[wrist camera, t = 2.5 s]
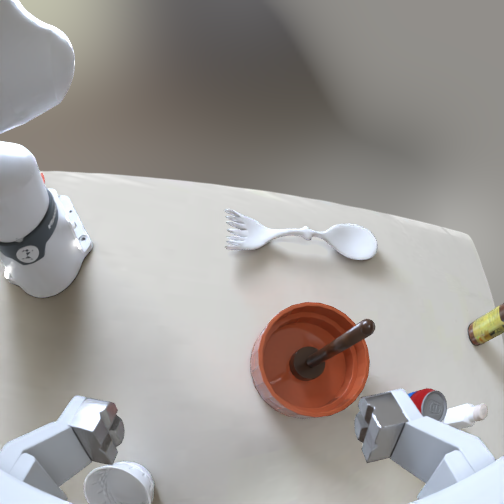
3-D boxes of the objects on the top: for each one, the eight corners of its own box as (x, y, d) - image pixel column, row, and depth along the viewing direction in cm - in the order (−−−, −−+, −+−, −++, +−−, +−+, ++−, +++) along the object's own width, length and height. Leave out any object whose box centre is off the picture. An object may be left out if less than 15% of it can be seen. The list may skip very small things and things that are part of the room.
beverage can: (377, 395, 43) (423, 381, 33) (405, 403, 42) (452, 389, 33) (368, 432, 39) (415, 427, 29) (398, 437, 39) (446, 431, 29)
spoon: (222, 217, 57) (224, 206, 54) (365, 230, 63) (373, 221, 60) (222, 257, 52) (225, 246, 49) (376, 265, 58) (385, 256, 55)
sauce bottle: (470, 348, 51) (534, 312, 35) (464, 324, 55) (525, 284, 38) (483, 344, 53) (543, 309, 36) (477, 321, 56) (534, 283, 40)
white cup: (108, 450, 30) (86, 456, 22) (161, 465, 31) (154, 477, 23) (103, 495, 26) (81, 511, 18) (156, 510, 27) (147, 532, 18)
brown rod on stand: (283, 359, 43) (340, 315, 27) (308, 343, 45) (372, 293, 30) (300, 387, 41) (368, 358, 25) (326, 370, 43) (398, 331, 28)
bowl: (229, 346, 43) (234, 334, 38) (314, 300, 51) (328, 284, 46) (287, 439, 37) (302, 440, 32) (367, 379, 44) (387, 372, 39)
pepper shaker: (457, 414, 42) (490, 405, 34) (451, 431, 40) (486, 424, 32) (446, 408, 43) (481, 398, 35) (441, 425, 40) (476, 418, 33)
